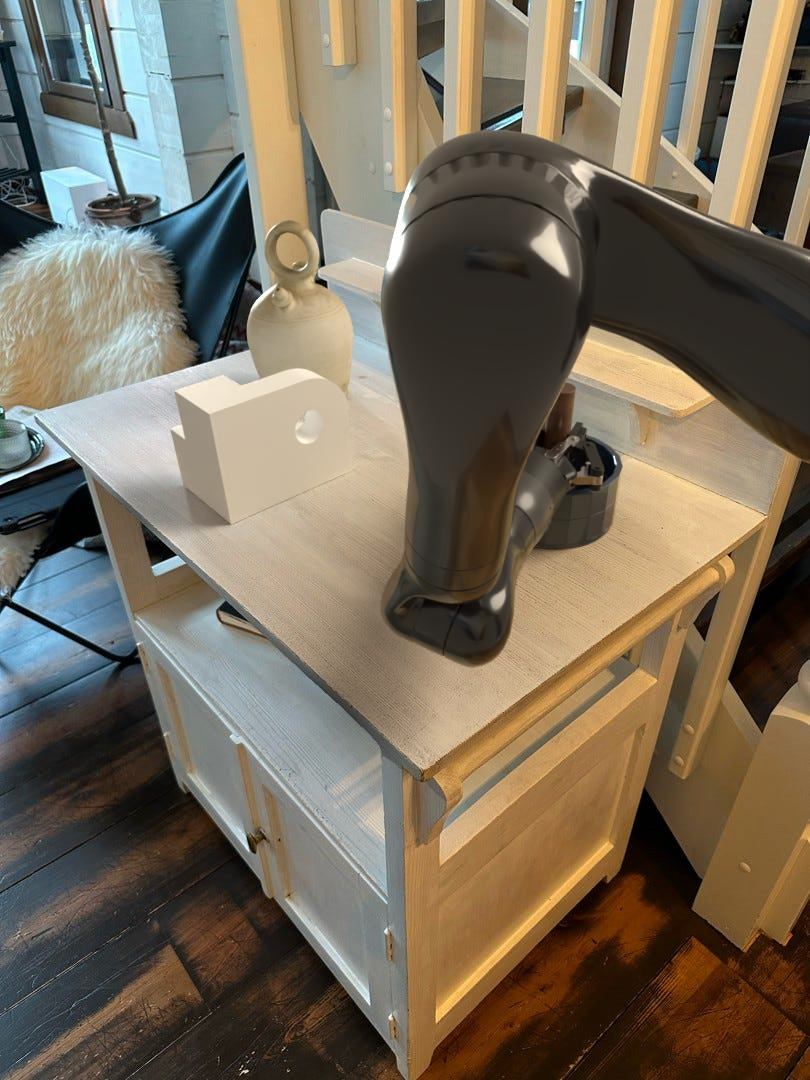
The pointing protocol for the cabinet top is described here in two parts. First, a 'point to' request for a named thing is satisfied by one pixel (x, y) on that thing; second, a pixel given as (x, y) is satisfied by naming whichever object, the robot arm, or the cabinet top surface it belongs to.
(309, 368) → the jug
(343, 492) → the cabinet top surface
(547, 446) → the brown cylinder
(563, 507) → the pot
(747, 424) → the robot arm
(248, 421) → the tape dispenser
